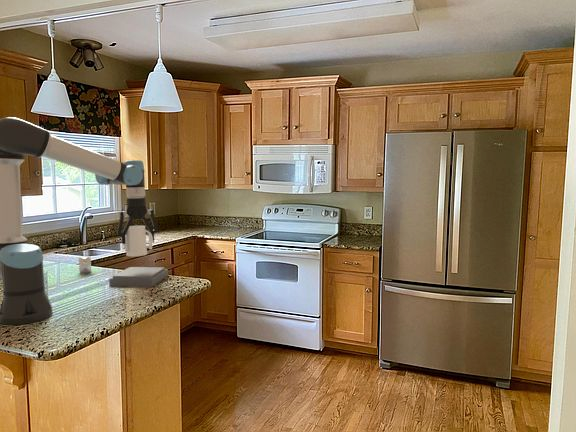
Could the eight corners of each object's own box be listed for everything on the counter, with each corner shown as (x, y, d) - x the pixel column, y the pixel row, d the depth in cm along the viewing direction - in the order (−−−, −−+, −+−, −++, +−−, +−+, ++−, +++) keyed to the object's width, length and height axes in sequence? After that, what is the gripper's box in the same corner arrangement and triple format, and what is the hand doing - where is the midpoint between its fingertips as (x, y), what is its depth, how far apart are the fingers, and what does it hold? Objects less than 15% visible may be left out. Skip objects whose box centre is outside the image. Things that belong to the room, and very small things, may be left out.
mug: (158, 253, 192) (156, 225, 191) (147, 257, 184) (145, 228, 183) (134, 252, 195) (132, 225, 194) (122, 256, 187) (120, 228, 186)
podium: (152, 286, 181) (151, 277, 180) (109, 286, 183) (109, 276, 182) (168, 275, 199) (167, 266, 198) (129, 275, 200) (128, 266, 200)
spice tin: (87, 273, 204) (86, 258, 203) (77, 273, 204) (76, 258, 204) (93, 271, 209) (92, 256, 208) (83, 271, 209) (82, 256, 208)
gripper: (109, 199, 178) (112, 254, 180) (164, 196, 189) (167, 248, 191) (106, 198, 184) (109, 251, 187) (160, 195, 195) (162, 246, 198)
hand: (138, 250), depth 189 cm, fingers closed on mug, 9 cm apart
